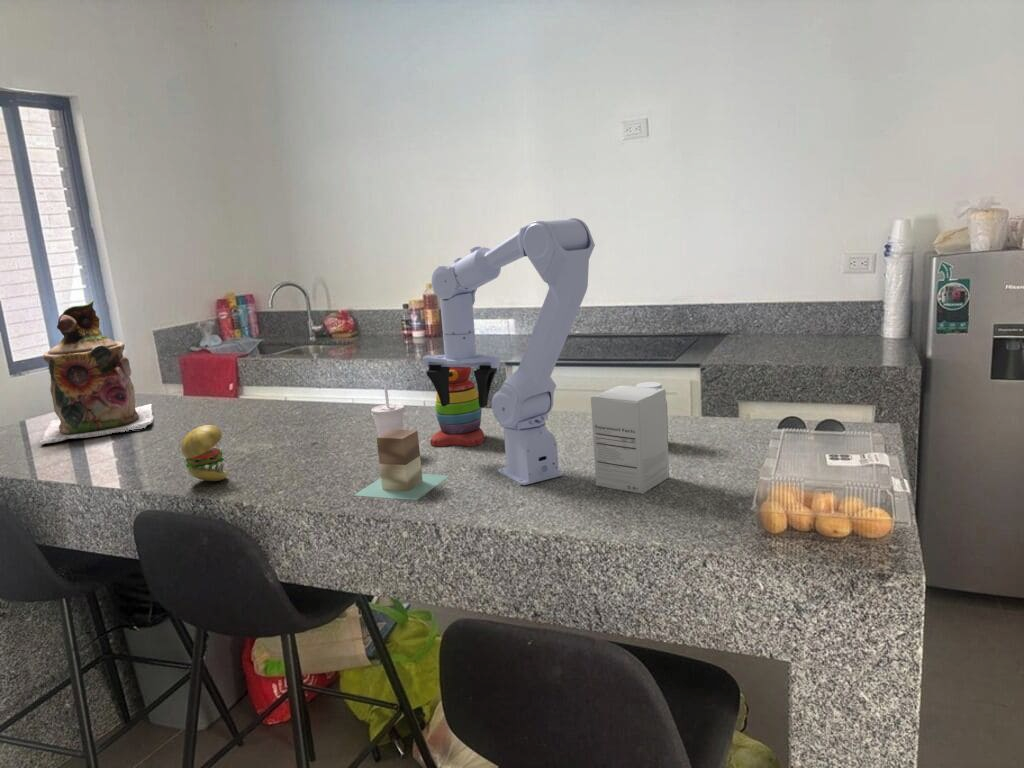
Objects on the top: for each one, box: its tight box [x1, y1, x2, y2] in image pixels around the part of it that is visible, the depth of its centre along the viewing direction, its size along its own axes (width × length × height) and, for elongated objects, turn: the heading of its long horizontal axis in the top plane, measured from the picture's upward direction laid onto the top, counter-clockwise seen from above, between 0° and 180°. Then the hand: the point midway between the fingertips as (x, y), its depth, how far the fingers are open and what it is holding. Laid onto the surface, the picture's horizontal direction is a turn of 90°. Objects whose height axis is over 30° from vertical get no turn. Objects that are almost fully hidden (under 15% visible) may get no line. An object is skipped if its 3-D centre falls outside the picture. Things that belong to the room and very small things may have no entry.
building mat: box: [352, 473, 450, 501], centre depth 128 cm, size 12×12×1 cm
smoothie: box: [370, 385, 406, 437], centre depth 145 cm, size 6×6×14 cm
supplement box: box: [590, 385, 670, 495], centre depth 120 cm, size 9×9×15 cm
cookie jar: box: [38, 299, 154, 446], centre depth 187 cm, size 25×25×32 cm
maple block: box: [379, 455, 423, 491], centre depth 127 cm, size 5×5×4 cm
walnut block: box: [376, 429, 421, 465], centre depth 127 cm, size 5×5×4 cm
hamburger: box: [180, 421, 228, 482], centre depth 137 cm, size 8×7×12 cm
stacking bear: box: [429, 363, 485, 447], centre depth 152 cm, size 11×10×18 cm
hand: (464, 405), depth 138 cm, fingers open, 7 cm apart
